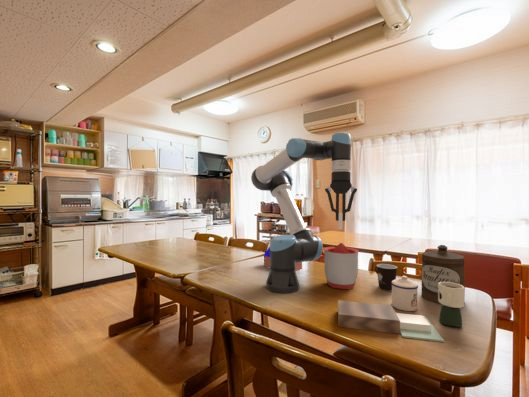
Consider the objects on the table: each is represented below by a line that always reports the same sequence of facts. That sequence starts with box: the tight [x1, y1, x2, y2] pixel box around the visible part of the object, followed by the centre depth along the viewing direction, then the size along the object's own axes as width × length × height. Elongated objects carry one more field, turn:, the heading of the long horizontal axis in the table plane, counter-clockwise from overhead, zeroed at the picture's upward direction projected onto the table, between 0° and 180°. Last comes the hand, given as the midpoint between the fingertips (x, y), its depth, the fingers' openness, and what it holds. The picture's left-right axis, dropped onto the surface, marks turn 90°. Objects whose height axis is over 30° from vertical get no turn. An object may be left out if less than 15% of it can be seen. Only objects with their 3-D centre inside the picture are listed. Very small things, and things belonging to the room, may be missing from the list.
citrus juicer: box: [323, 242, 360, 290], centre depth 129 cm, size 16×17×20 cm
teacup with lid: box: [391, 275, 419, 312], centre depth 105 cm, size 12×9×12 cm
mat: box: [400, 316, 445, 343], centre depth 88 cm, size 11×16×1 cm
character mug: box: [438, 282, 465, 327], centre depth 90 cm, size 11×7×13 cm, turn 141°
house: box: [263, 246, 303, 272], centre depth 159 cm, size 12×20×12 cm, turn 46°
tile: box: [395, 312, 431, 332], centre depth 88 cm, size 9×7×2 cm
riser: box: [337, 300, 401, 335], centre depth 91 cm, size 18×12×4 cm, turn 76°
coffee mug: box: [374, 263, 398, 292], centre depth 126 cm, size 12×9×10 cm
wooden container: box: [421, 244, 466, 305], centre depth 113 cm, size 15×15×22 cm
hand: (340, 228), depth 112 cm, fingers closed
